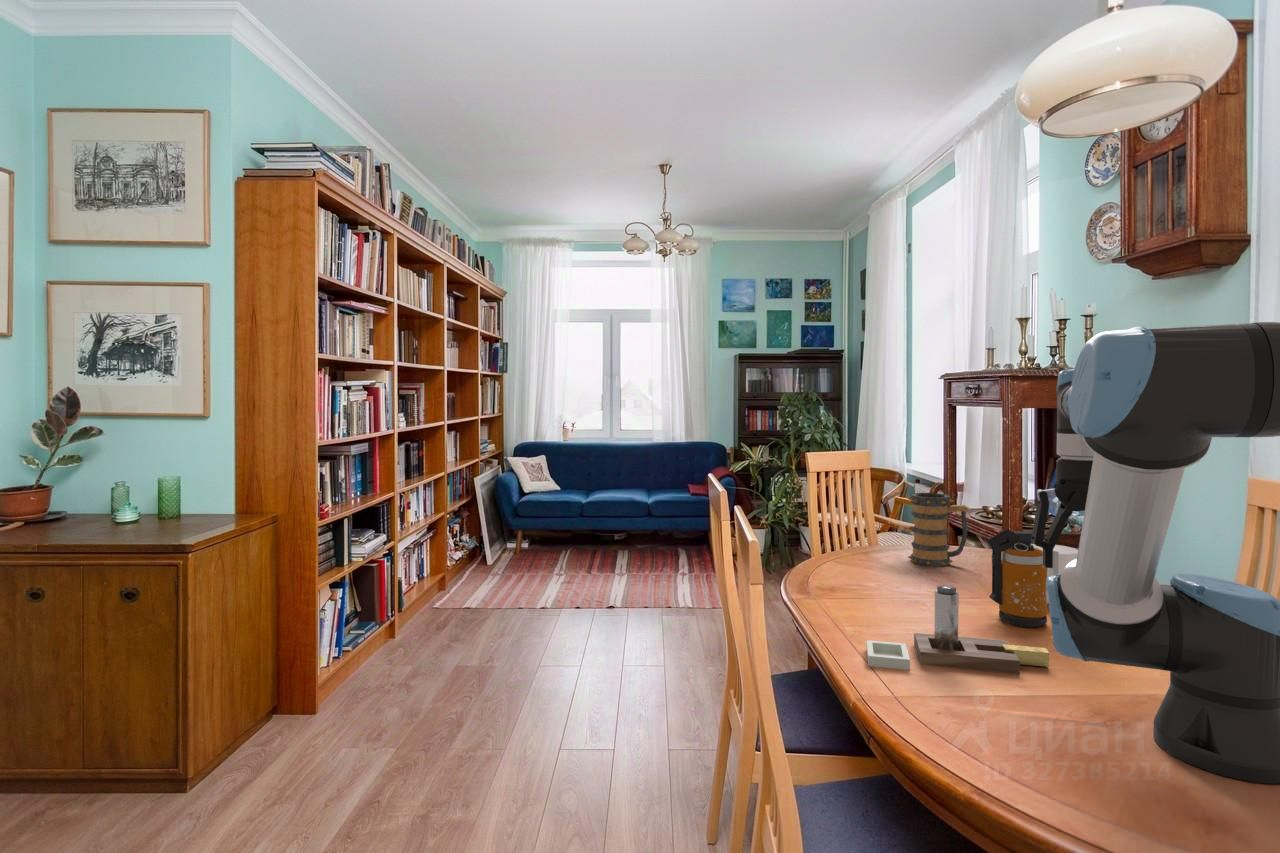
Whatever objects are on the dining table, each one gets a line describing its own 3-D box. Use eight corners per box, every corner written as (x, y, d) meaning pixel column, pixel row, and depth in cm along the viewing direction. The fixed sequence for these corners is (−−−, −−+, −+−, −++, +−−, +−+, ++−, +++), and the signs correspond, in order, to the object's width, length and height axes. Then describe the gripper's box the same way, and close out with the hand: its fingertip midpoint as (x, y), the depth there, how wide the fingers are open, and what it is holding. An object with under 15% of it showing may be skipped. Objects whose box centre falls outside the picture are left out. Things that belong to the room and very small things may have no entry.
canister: (1053, 630, 138) (1054, 534, 137) (996, 627, 140) (996, 533, 139) (1037, 616, 147) (1038, 526, 146) (983, 613, 149) (983, 525, 148)
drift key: (1049, 666, 117) (1049, 652, 117) (1004, 662, 119) (1005, 649, 119) (1045, 661, 119) (1045, 647, 119) (1001, 657, 121) (1001, 644, 121)
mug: (909, 555, 205) (909, 491, 204) (971, 561, 196) (972, 494, 196) (903, 564, 193) (904, 496, 193) (969, 571, 185) (970, 500, 184)
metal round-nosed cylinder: (959, 661, 120) (960, 591, 120) (935, 659, 121) (936, 589, 121) (956, 653, 124) (956, 585, 124) (933, 651, 125) (933, 583, 125)
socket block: (1019, 677, 115) (1019, 660, 115) (920, 668, 119) (920, 651, 119) (1005, 656, 124) (1005, 640, 124) (914, 648, 129) (914, 632, 129)
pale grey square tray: (910, 673, 117) (910, 659, 117) (868, 669, 119) (868, 655, 119) (905, 656, 125) (905, 643, 125) (866, 653, 127) (866, 640, 127)
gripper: (1141, 456, 116) (1139, 585, 117) (1010, 455, 122) (1009, 578, 122) (1161, 460, 109) (1159, 598, 109) (1021, 458, 114) (1020, 589, 115)
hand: (1080, 587), depth 116 cm, fingers open, 8 cm apart
